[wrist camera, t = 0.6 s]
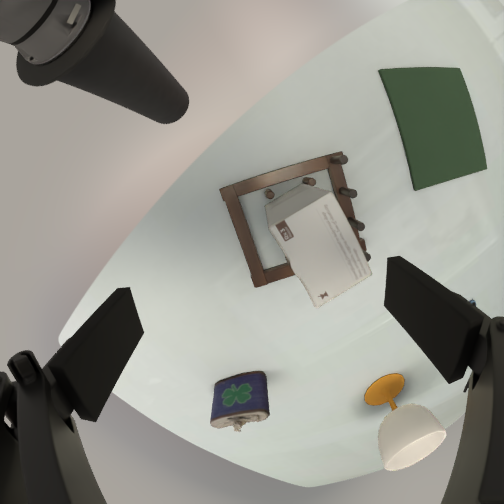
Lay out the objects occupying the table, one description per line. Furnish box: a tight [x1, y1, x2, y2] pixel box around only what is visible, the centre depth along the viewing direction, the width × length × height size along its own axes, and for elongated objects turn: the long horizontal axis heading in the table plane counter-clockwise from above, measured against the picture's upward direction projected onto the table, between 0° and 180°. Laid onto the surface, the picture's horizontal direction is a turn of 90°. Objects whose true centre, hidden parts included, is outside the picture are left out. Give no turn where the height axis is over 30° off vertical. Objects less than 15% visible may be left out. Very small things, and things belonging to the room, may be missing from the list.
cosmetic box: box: [265, 184, 372, 308], centre depth 28 cm, size 8×6×15 cm
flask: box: [210, 371, 270, 432], centre depth 38 cm, size 9×3×11 cm, turn 110°
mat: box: [378, 67, 487, 191], centre depth 30 cm, size 18×18×1 cm
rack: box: [219, 152, 371, 287], centre depth 32 cm, size 16×14×5 cm
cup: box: [365, 374, 446, 471], centre depth 37 cm, size 12×12×17 cm
